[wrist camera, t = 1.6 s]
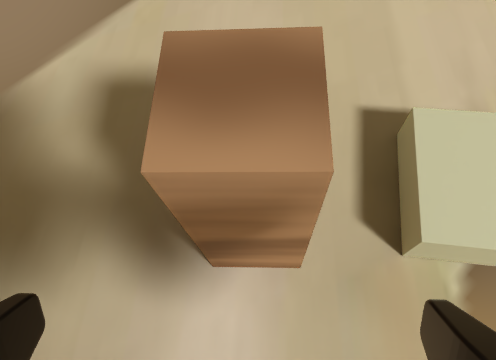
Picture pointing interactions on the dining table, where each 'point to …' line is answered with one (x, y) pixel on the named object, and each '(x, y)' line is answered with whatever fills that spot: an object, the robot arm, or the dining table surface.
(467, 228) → the base slab
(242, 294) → the dining table surface
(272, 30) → the pillar
